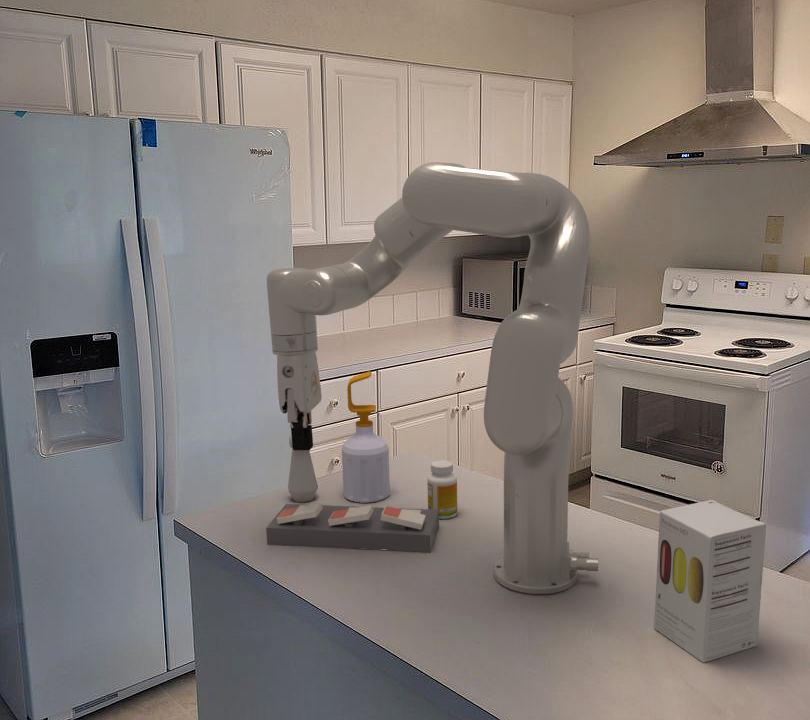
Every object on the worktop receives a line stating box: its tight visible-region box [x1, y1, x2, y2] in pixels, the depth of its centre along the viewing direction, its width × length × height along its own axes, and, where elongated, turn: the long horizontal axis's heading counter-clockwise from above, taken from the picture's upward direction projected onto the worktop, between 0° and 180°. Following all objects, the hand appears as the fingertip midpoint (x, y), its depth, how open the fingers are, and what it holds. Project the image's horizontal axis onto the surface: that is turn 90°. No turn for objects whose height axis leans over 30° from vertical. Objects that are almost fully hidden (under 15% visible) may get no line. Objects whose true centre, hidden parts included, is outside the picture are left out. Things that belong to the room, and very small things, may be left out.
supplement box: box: [653, 499, 767, 663], centre depth 104 cm, size 10×9×17 cm
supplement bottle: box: [427, 460, 458, 520], centre depth 148 cm, size 5×5×10 cm
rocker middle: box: [328, 504, 374, 526], centre depth 138 cm, size 7×4×1 cm, turn 80°
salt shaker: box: [287, 436, 319, 503], centre depth 157 cm, size 6×6×13 cm
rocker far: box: [277, 502, 323, 524], centre depth 139 cm, size 7×4×1 cm, turn 80°
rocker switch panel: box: [265, 503, 440, 553], centre depth 140 cm, size 28×11×4 cm, turn 80°
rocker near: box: [380, 505, 426, 530], centre depth 136 cm, size 7×4×1 cm, turn 81°
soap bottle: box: [341, 370, 391, 504], centre depth 157 cm, size 9×9×25 cm
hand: (303, 448), depth 138 cm, fingers closed
